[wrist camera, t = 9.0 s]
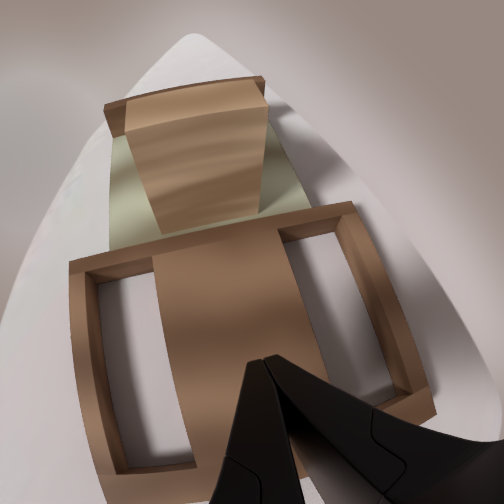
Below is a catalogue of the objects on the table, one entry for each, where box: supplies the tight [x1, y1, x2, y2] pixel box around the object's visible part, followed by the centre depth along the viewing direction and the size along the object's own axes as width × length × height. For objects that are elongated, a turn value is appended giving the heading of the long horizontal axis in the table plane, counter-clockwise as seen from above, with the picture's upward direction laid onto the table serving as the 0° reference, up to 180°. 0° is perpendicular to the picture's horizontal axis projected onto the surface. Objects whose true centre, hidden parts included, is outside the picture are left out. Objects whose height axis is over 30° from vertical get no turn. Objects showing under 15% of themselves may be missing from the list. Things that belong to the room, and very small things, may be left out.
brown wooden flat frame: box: [69, 76, 437, 504], centre depth 17 cm, size 27×19×5 cm
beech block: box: [125, 79, 269, 235], centre depth 17 cm, size 10×6×8 cm, turn 15°
